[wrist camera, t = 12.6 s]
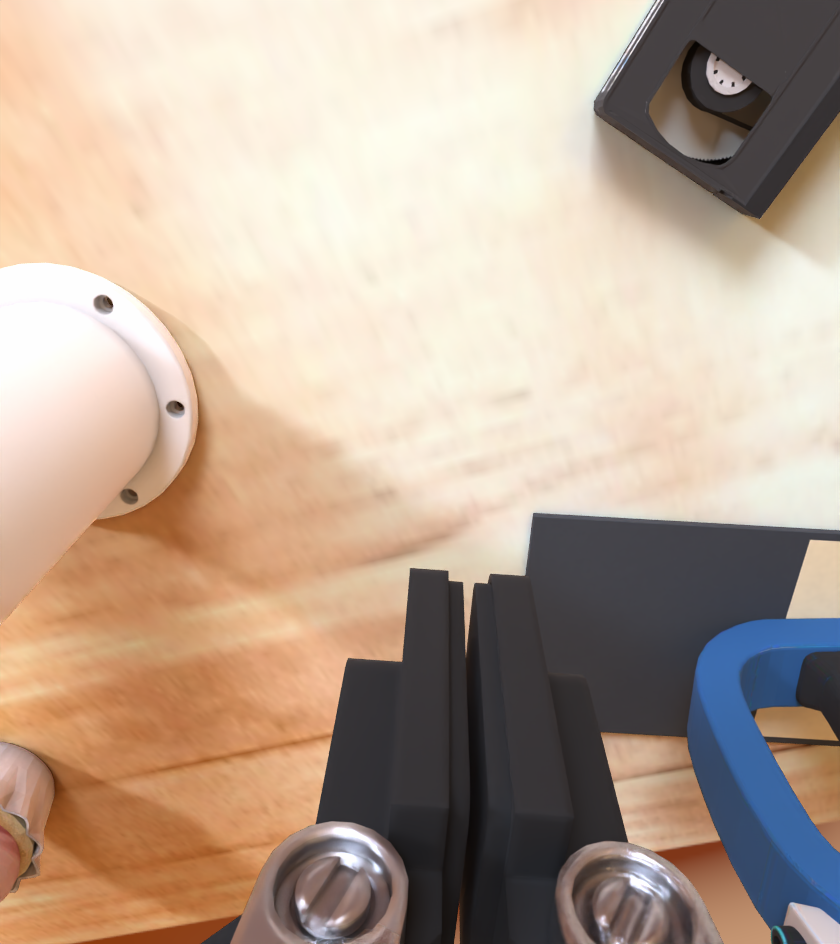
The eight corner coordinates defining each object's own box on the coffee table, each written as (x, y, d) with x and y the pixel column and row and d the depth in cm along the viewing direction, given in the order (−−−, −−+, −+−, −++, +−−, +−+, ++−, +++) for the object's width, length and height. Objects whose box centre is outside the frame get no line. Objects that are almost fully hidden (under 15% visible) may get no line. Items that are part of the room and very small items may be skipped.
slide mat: (506, 721, 44) (507, 726, 43) (533, 512, 38) (534, 516, 37) (983, 750, 43) (987, 755, 43) (1084, 543, 38) (1091, 548, 37)
